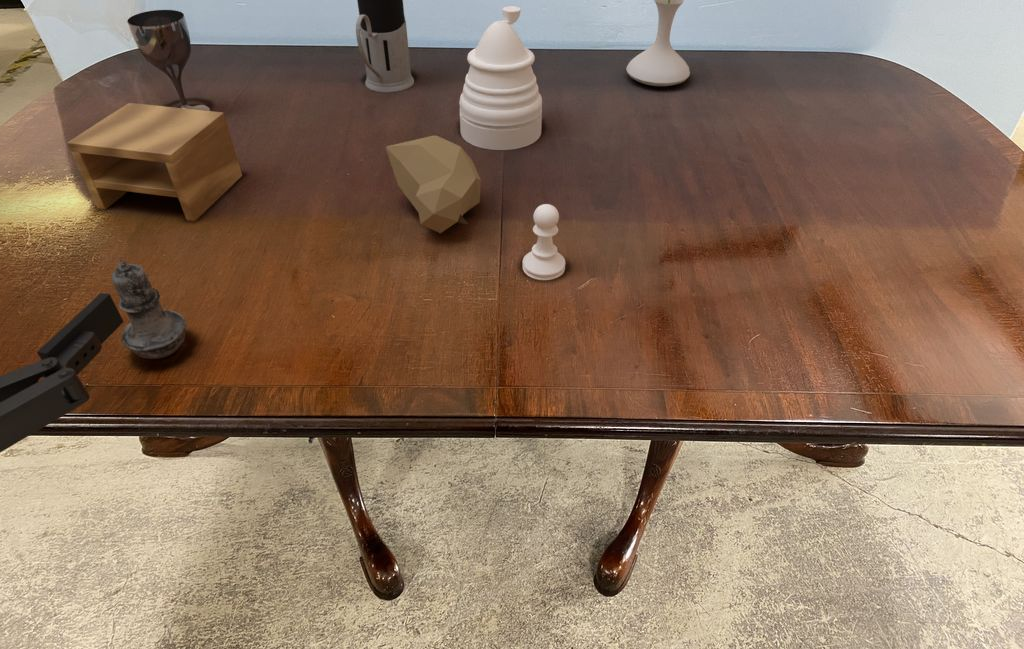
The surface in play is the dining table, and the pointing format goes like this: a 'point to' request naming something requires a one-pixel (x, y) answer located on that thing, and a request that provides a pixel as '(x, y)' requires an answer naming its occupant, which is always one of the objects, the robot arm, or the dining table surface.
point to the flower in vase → (660, 53)
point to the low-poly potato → (436, 180)
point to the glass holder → (384, 45)
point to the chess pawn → (544, 246)
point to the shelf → (158, 156)
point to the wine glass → (165, 45)
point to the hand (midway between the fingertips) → (34, 295)
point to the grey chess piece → (146, 315)
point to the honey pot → (501, 90)
